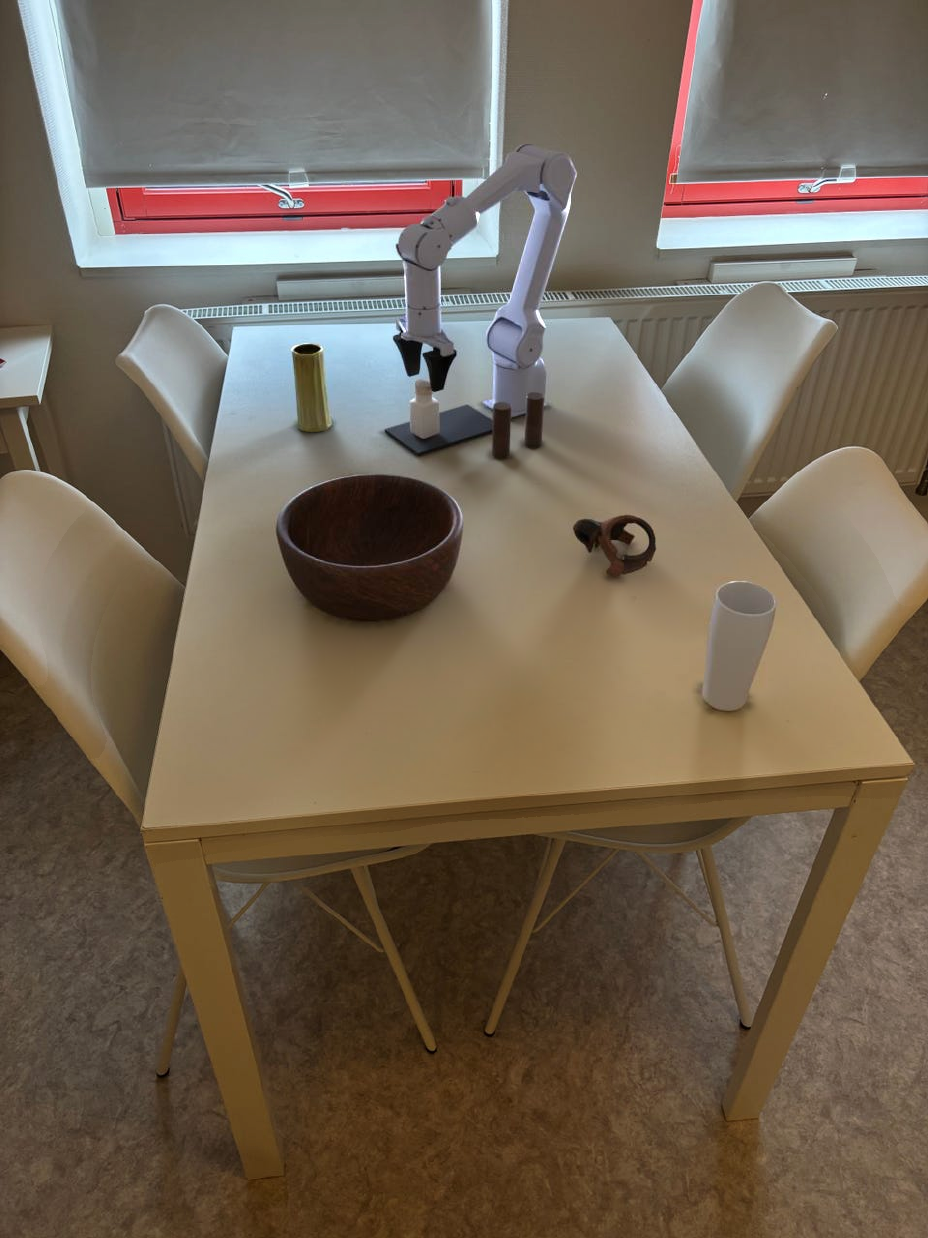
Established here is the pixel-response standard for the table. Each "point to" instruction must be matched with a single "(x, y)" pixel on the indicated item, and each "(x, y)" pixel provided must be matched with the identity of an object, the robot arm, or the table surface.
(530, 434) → the walnut dowel
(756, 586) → the drinking glass
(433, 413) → the pepper shaker
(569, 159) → the robot arm
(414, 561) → the wooden bowl
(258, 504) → the table surface
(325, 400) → the vase
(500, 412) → the walnut dowel
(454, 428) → the mat
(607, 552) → the brown curled ring figurine
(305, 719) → the table surface
